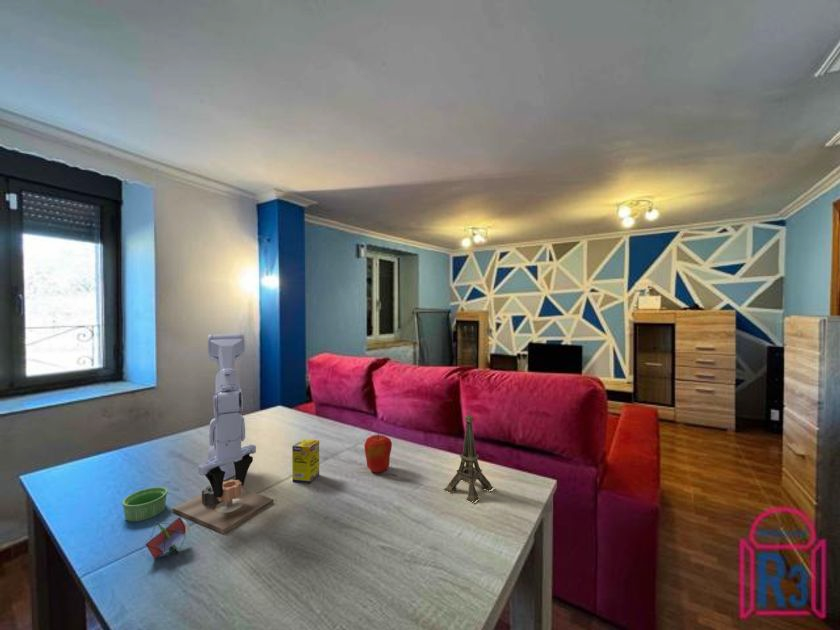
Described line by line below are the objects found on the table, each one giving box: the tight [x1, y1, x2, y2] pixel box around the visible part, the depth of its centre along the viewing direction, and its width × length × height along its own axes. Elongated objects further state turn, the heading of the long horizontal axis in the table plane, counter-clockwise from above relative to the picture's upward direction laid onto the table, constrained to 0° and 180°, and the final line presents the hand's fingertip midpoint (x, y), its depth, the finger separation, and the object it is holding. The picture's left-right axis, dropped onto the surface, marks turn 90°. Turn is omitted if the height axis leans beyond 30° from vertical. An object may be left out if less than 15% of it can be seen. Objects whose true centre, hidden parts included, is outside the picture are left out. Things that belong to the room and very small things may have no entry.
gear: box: [217, 479, 243, 502], centre depth 89 cm, size 5×5×3 cm
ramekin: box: [122, 486, 169, 522], centre depth 88 cm, size 9×9×4 cm
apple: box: [363, 434, 393, 474], centre depth 110 cm, size 9×8×12 cm
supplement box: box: [291, 438, 320, 484], centre depth 105 cm, size 6×6×11 cm
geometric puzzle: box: [145, 516, 191, 560], centre depth 73 cm, size 7×7×8 cm
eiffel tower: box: [442, 407, 494, 505], centre depth 98 cm, size 11×11×25 cm
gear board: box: [171, 485, 274, 535], centre depth 90 cm, size 20×14×4 cm
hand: (229, 490), depth 89 cm, fingers closed on gear, 5 cm apart
